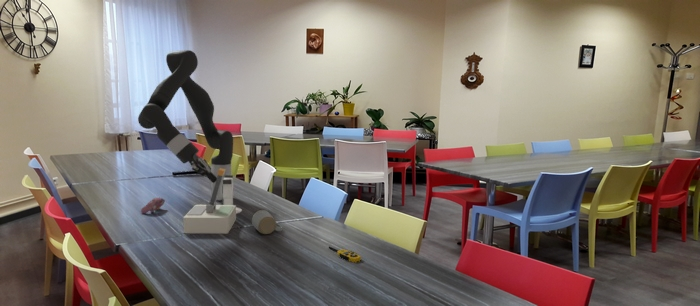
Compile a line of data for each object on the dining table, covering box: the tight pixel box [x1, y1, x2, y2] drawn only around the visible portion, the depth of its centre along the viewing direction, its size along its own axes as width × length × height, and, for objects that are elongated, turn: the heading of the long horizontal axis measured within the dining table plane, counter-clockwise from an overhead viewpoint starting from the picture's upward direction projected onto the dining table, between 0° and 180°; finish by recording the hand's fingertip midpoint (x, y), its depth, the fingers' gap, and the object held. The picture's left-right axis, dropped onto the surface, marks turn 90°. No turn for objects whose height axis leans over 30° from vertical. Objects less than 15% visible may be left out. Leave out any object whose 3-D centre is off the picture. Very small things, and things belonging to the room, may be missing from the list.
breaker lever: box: [208, 168, 226, 209], centre depth 168 cm, size 2×4×17 cm, turn 6°
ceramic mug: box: [251, 209, 283, 235], centre depth 165 cm, size 11×8×8 cm
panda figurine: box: [221, 174, 242, 215], centre depth 190 cm, size 12×11×15 cm
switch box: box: [182, 201, 237, 234], centre depth 169 cm, size 16×18×9 cm
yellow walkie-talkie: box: [328, 245, 362, 263], centre depth 145 cm, size 5×2×15 cm
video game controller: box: [140, 197, 166, 214], centre depth 186 cm, size 10×5×7 cm, turn 169°
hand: (215, 181), depth 167 cm, fingers closed
